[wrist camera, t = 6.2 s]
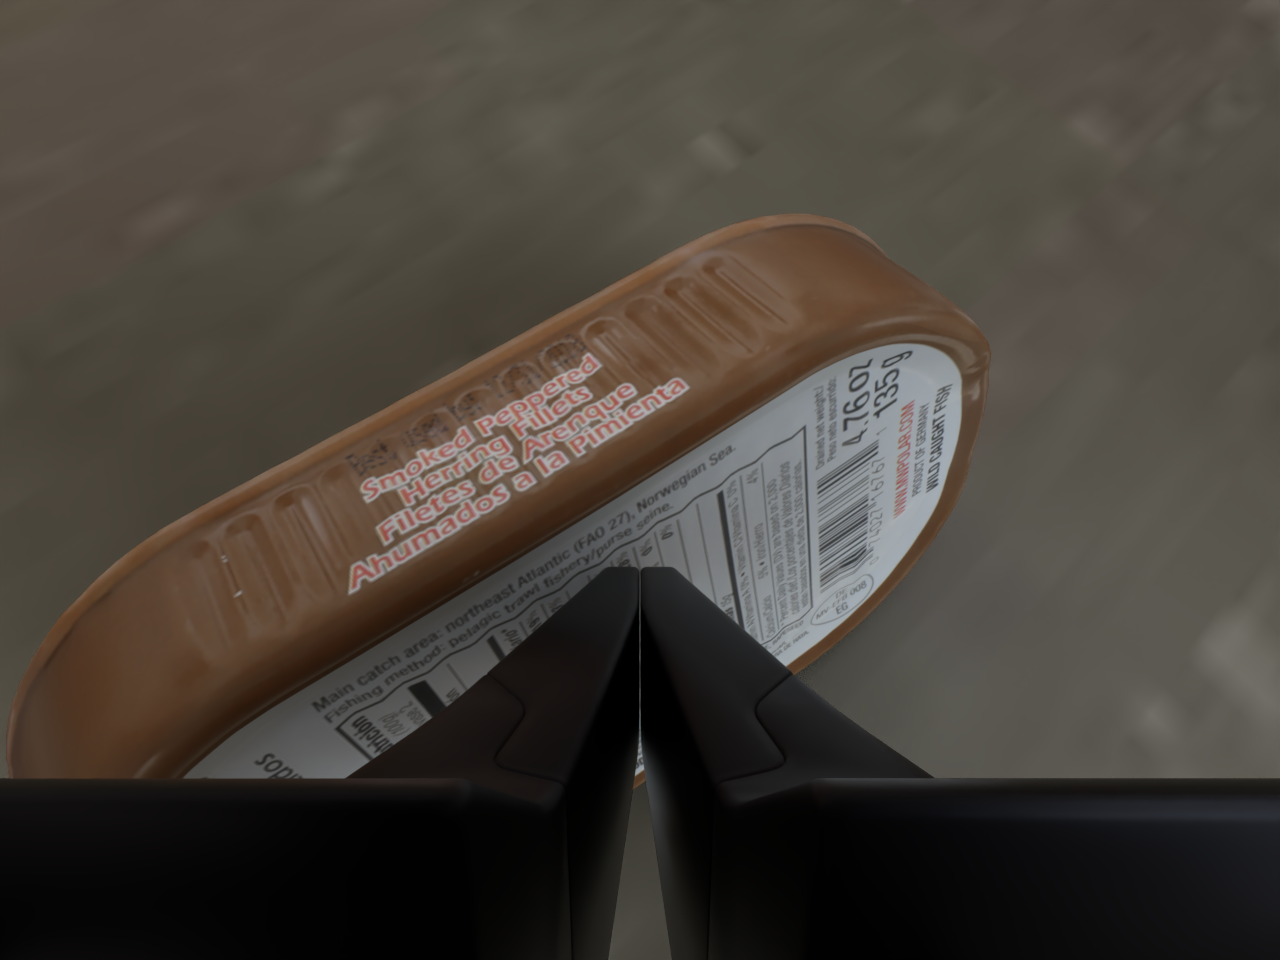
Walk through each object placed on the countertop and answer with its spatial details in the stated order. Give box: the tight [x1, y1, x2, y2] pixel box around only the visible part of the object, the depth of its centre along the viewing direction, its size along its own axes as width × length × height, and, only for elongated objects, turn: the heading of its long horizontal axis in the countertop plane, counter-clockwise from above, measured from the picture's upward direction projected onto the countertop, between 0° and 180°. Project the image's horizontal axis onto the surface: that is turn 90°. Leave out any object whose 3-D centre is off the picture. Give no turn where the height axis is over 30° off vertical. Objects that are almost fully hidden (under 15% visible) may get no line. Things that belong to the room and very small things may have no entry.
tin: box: [6, 213, 991, 790], centre depth 13 cm, size 15×3×8 cm, turn 124°
